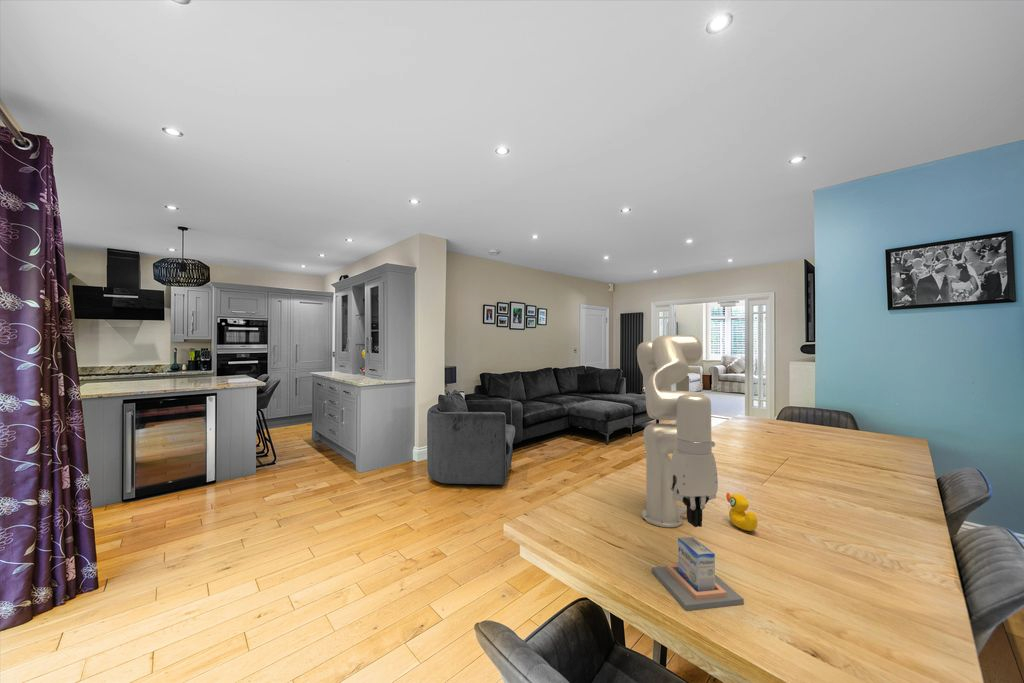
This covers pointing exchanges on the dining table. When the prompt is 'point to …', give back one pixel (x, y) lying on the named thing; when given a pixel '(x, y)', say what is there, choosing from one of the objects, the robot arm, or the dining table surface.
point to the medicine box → (696, 564)
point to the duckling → (741, 512)
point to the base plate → (689, 595)
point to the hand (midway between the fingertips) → (694, 524)
